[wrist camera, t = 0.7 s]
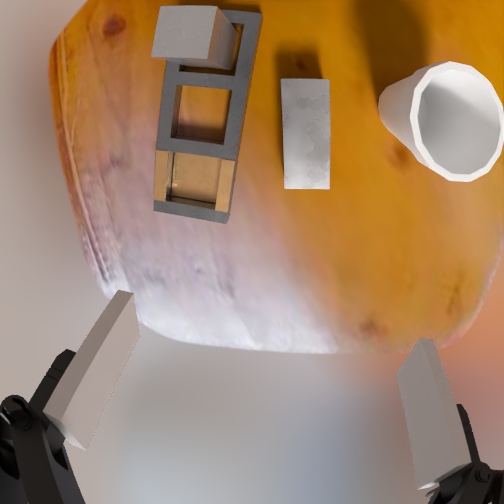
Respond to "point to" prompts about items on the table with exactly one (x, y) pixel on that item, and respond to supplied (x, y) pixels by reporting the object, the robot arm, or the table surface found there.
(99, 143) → the table surface
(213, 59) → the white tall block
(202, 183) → the grey flat frame
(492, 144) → the foam cup
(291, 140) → the block
